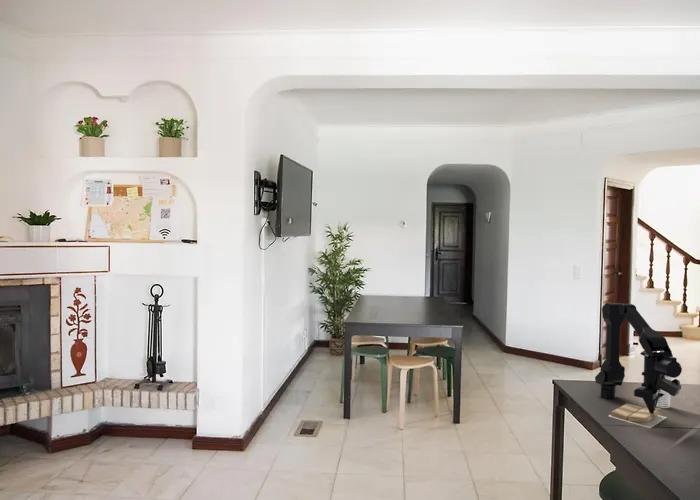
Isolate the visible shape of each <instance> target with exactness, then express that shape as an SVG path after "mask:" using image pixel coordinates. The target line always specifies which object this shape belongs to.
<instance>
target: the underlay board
mask: <svg viewBox="0 0 700 500" xmlns="http://www.w3.org/2000/svg"><path fill="white" fill-rule="evenodd" d="M608 417H610V418H613V419H617V420H619V421H623V422H627V423H631V424H634V425H637V426H641V427H643V428H647V429H651V428H653V427H655V426H656V425H657V424H659V423H661V422H662V421H664V420H666V419H667V418H668V417H667V416H663V415H660V414H659V415H657V416H656V417H654V418H653V419H651V420H649V421H648V422H637V421H628V420H623V419H620V418H617V417H613V416H611V414H609V415H608Z"/></svg>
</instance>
